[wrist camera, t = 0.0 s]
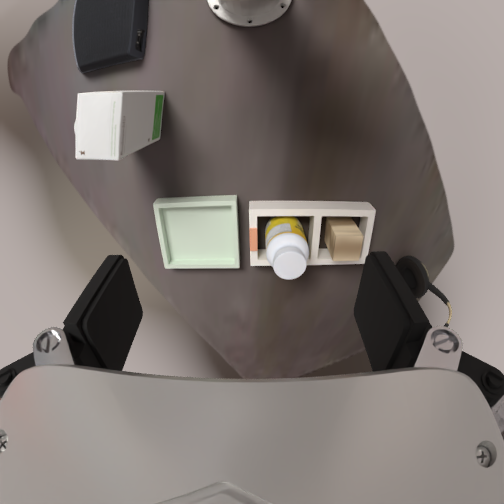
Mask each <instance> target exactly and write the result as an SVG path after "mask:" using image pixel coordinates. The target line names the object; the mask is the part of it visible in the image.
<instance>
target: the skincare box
mask: <svg viewBox="0 0 504 504" xmlns="http://www.w3.org/2000/svg"><path fill="white" fill-rule="evenodd" d="M164 96H165V92H164V91H103V92H89V93H79V94H78V100H77V113H76V121H75V125H74V130H75V134H76V159H77V160H120V159H122V158H124V157H125V156H128V155H130V154H131V153H133V152H135V151H137V150H139V149H141V148H143V147H145V146H148V145H150V144H152V143H154V142H156V141H158V140H160V135H161V125H162V113H163V103H164Z"/></svg>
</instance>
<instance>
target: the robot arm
mask: <svg viewBox="0 0 504 504" xmlns="http://www.w3.org/2000/svg"><path fill="white" fill-rule="evenodd" d="M207 2H208V5H209V7H210V8H211V10H212V11H213V12H214V13H215V15H216V16H218V17H219V18H220V19H222V20H224V21H226V22H227V23H230V24H233V25H237V26H243V27H254V26H261V25H265V24H268V23H270V22H272V21H274V20H276V19H278V18H279V17H280V16H282V15H283V14H284V13H285V12H286V10H287V9H288V7H289V5H290V3H291V0H207ZM281 6H284V8H281ZM217 7H218V9H217V10H216V9H215V8H217ZM249 21H251V22H252V23H248V22H249ZM142 316H143V311H142V307H141V304H140V301H139V298H138V295H137V291H136V288H135V285H134V281H133V278H132V274H131V271H130V267H129V264H128V260H127V259H124V257H123V256H122V255H109V256H107V258H106V259H105V260H104V262H103V263H102V265H101V266H100V267H99V269H98V270H97V272H96V273H95V275H94V276H93V277H92V279H91V280H90V282H89V283H88V285H87V286H86V288H85V289H84V291H83V292H82V294H81V295H80V297H79V298H78V300H77V301H76V303H75V304H74V306H73V308H72V309H71V311H70V312H69V314H68V316H67V317H66V319H65V320H64V322H63V323H64V325H65V326H64V328H63V330H62V329H60V328H57V327H52V328H48V329H45V330H44V331H42V332H41V333H40V334H39V335H38V336H37V337H36V338H35V340H34V343H33V353H31V354H29V355H27V356H25V357H23V358H21V359H19V360H17V361H15V362H13V363H12V364H10V365H8V366H6V367H4V368H2V369H1V370H0V504H504V375H503V374H502V373H501V371H499V370H498V369H497V368H495V367H493V366H491V365H489V364H487V363H485V362H483V361H481V360H479V359H477V358H475V357H473V356H471V355H469V354H467V353H465V352H463V351H462V346H463V345H462V340H461V338H460V337H459V335H458V334H457V333H456V332H455V331H454V330H452V329H450V328H448V327H444V326H436V327H433V328H432V326H431V325H430V323H429V320H428V318H427V317H426V315H425V313H424V311H423V310H422V308H421V307H420V305H419V303H418V301H417V300H416V298H415V296H414V295H413V293H412V291H411V290H410V288H409V286H408V285H407V283H406V282H405V280H404V279H403V277H402V275H401V274H400V272H399V271H398V269H397V268H396V266H395V265H394V263H393V262H392V260H391V259H390V257H389V256H388V254H387V253H386V252H384V251H383V252H371V253H370V255H367V256H366V259H365V263H364V268H363V273H362V277H361V282H360V286H359V290H358V295H357V299H356V303H355V307H354V316H355V319H356V322H357V325H358V328H359V331H360V334H361V336H362V339H363V342H364V345H365V348H366V351H367V354H368V357H369V360H370V363H371V367H372V370H373V372H365V373H355V374H345V375H333V376H321V377H306V378H281V379H215V378H214V379H213V378H193V377H177V376H176V377H175V376H163V375H152V374H142V373H133V372H126V371H122V369H123V366H124V364H125V361H126V358H127V356H128V353H129V350H130V348H131V345H132V342H133V340H134V337H135V335H136V332H137V329H138V327H139V324H140V322H141V319H142Z"/></svg>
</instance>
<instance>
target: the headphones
mask: <svg viewBox="0 0 504 504" xmlns="http://www.w3.org/2000/svg"><path fill="white" fill-rule="evenodd" d="M396 268H397V269H398V271H399V272H400V274H401V275H402V277H403V279H404V280H405V282H406V283H407V285H408V286H409V288H410V290H411V291H412V293H413V295H414V296H415V298H420V297H422V296H423V295H424V294H425V293H426V292H427V290H428V289H429V290H430V291H431V292H433V293H434V294H435V295H437V296H438V297H439V298H441V300H442V301H443V302H444V303H445V304H446V305H447V306H448V308H449V319H448V321H447V323H446V324H445V325H444V327H448V326H449V322H450V320H451V314H452V310H451V305H450V303H449V301H448V300H447V298H446V297H445V296H444V295H443V293H441V292H440V291H439V290H438V289H437V288H436V287H435V286H434V285H432V284H431V283H430V282H429V276H428V272H427V270H426V268H425V266H424V265H423V263H422V262H420V261H419V260H418V259H417V258H415V257H412V256H406V257H403V258H401V259H400V260H399V262H398V263H397V267H396Z"/></svg>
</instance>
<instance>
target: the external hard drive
mask: <svg viewBox="0 0 504 504" xmlns="http://www.w3.org/2000/svg"><path fill="white" fill-rule="evenodd" d="M147 22H148V0H75V4H74V11H73V22H72V36H73V48H74V55H75V60H76V64H77V68H78V70H79V71H80V72H81V73H86V72H89V71H93V70H96V69H100V68H104V67H108V66H112V65H116V64H121V63H125V62H130V61H135V60H141V59H143V57H144V52H145V44H146V34H147Z"/></svg>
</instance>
